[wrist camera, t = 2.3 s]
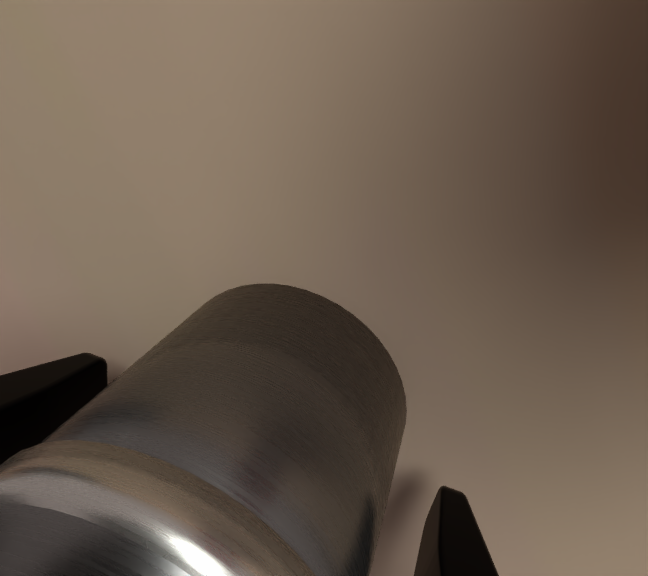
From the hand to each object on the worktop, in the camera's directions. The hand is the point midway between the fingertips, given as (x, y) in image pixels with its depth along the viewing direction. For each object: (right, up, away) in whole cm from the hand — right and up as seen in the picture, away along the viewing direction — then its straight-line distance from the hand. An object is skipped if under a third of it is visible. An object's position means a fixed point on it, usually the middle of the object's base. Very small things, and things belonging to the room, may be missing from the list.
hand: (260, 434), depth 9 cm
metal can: (0, +1, +1) cm, 1 cm away
